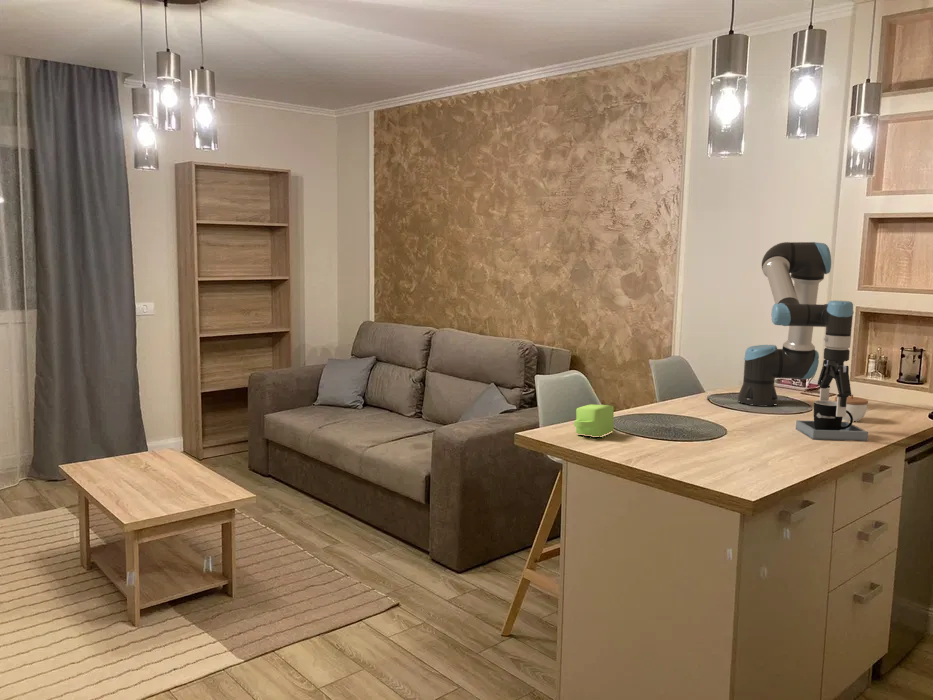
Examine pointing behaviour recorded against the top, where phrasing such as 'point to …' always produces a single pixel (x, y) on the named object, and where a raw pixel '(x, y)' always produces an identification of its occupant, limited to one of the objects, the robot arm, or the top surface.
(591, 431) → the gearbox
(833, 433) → the gray tray
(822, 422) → the mug
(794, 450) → the top surface
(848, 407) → the lidded jar
